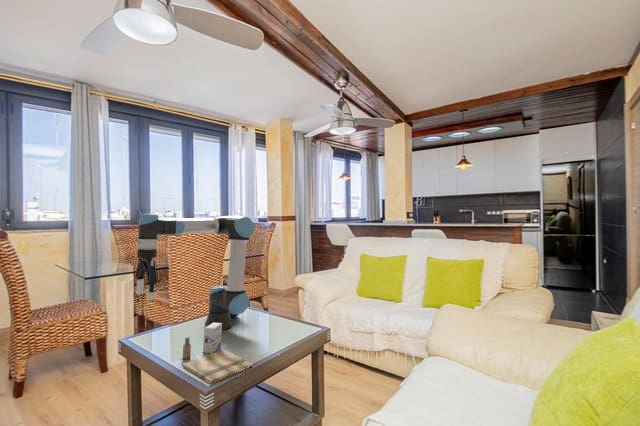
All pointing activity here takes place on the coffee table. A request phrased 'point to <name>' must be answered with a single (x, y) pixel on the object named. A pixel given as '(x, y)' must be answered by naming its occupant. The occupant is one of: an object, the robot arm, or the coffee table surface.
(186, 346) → the brown bottle
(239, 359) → the board
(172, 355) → the coffee table surface
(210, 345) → the ink box
